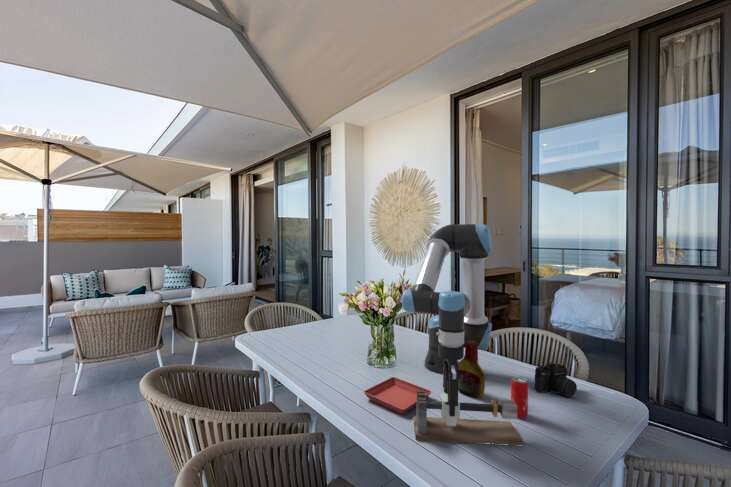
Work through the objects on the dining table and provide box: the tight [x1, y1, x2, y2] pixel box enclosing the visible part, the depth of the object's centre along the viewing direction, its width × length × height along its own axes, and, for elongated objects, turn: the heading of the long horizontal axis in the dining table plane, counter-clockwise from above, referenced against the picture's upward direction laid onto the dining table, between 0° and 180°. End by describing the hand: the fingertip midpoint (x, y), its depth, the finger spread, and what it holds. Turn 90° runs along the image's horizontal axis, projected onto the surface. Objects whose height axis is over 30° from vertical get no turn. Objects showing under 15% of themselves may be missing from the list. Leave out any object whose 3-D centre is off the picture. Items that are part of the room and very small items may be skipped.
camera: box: [534, 361, 578, 398], centre depth 129 cm, size 14×11×10 cm
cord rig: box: [413, 390, 524, 446], centre depth 101 cm, size 10×30×10 cm, turn 85°
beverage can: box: [510, 376, 529, 419], centre depth 112 cm, size 5×5×12 cm
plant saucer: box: [363, 376, 432, 414], centre depth 122 cm, size 18×18×3 cm
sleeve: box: [439, 393, 461, 419], centre depth 102 cm, size 5×5×5 cm
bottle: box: [457, 341, 486, 398], centre depth 127 cm, size 12×6×20 cm, turn 37°
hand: (449, 419), depth 102 cm, fingers closed on sleeve, 5 cm apart
